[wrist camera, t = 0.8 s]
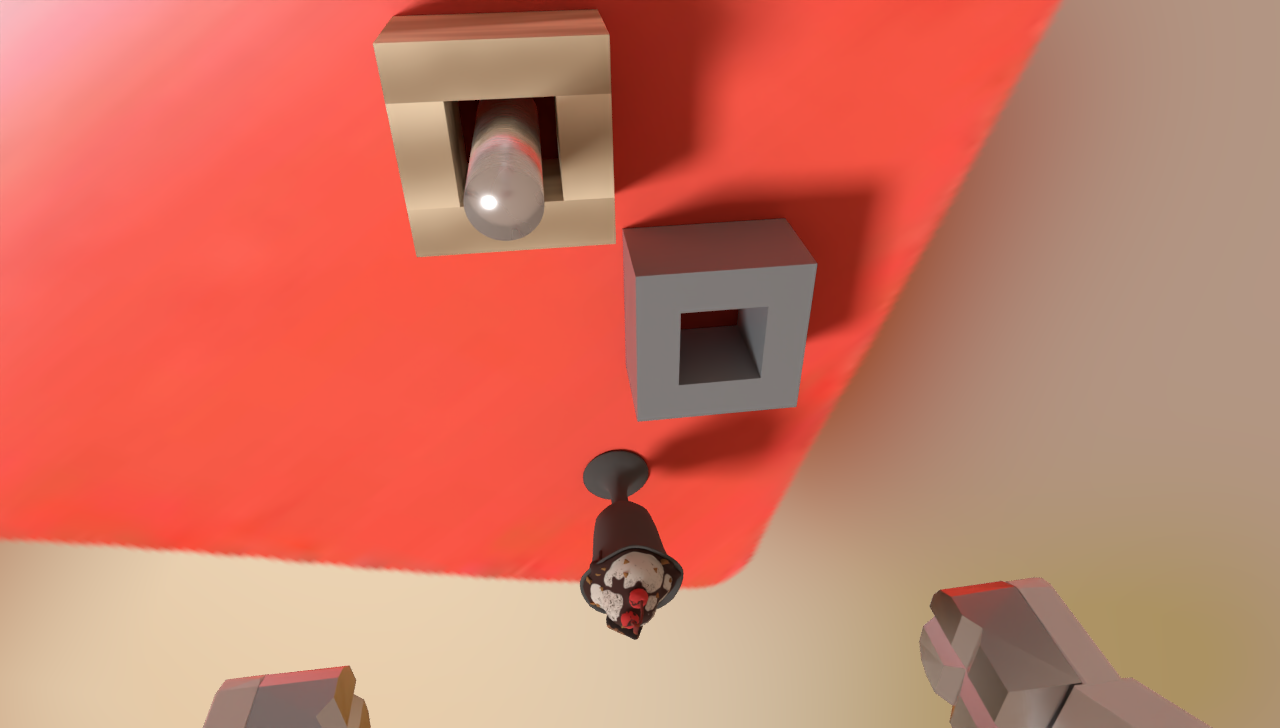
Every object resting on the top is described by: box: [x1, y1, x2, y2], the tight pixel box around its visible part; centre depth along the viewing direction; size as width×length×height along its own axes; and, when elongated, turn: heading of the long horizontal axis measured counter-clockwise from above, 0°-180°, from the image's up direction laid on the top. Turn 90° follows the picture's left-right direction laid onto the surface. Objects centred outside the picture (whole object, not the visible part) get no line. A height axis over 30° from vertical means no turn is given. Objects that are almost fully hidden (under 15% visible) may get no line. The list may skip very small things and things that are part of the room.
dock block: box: [623, 218, 817, 422], centre depth 45 cm, size 10×10×6 cm
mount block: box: [373, 9, 616, 257], centre depth 37 cm, size 10×10×6 cm
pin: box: [463, 97, 545, 241], centre depth 34 cm, size 3×3×12 cm
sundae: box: [580, 451, 683, 640], centre depth 49 cm, size 7×7×15 cm
